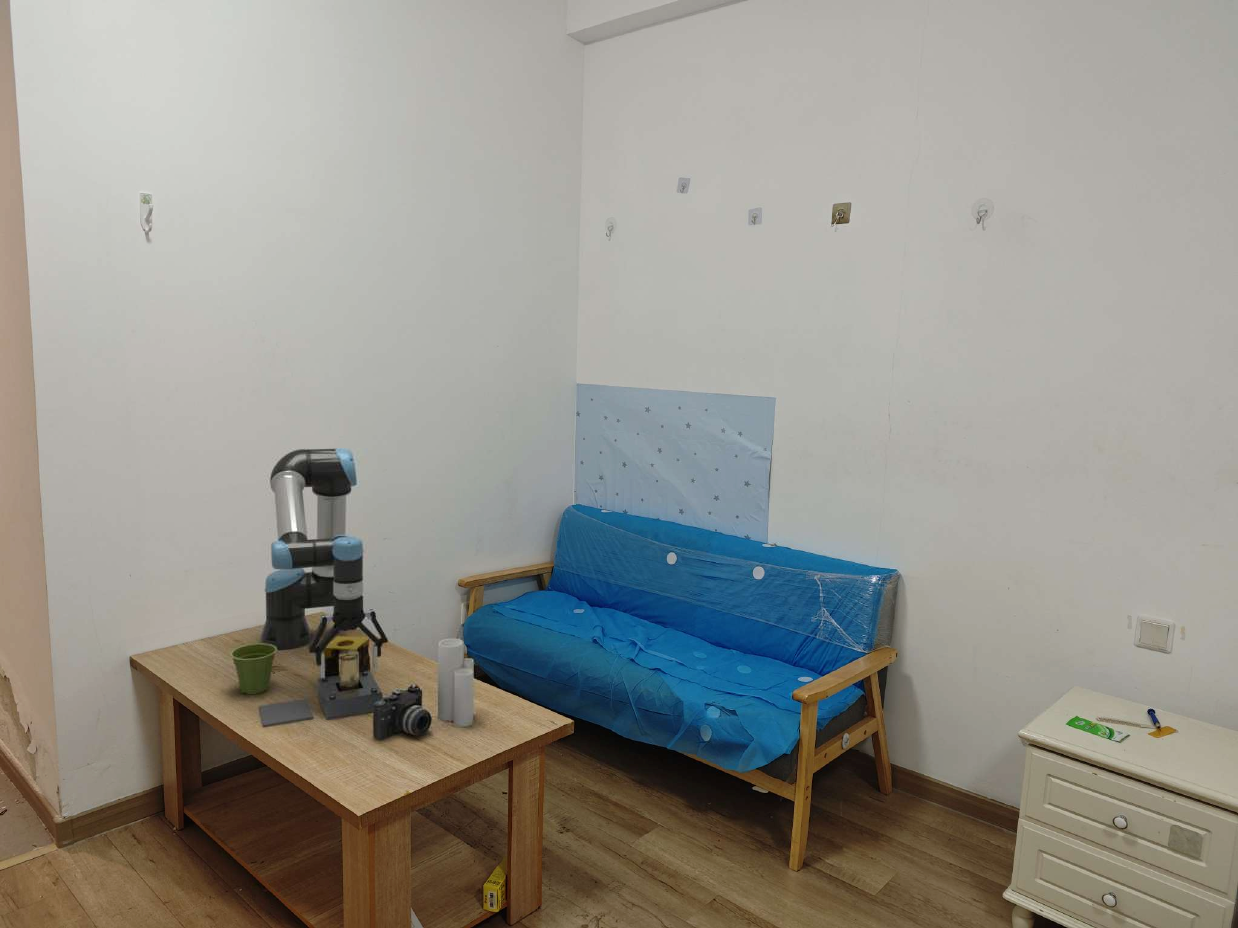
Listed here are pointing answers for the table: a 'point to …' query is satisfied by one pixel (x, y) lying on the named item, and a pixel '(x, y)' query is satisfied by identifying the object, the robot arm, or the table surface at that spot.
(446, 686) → the grey cylinder cluster
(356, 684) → the plug
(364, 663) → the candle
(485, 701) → the table surface
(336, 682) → the housing
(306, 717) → the mat
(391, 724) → the camera
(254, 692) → the plant pot
